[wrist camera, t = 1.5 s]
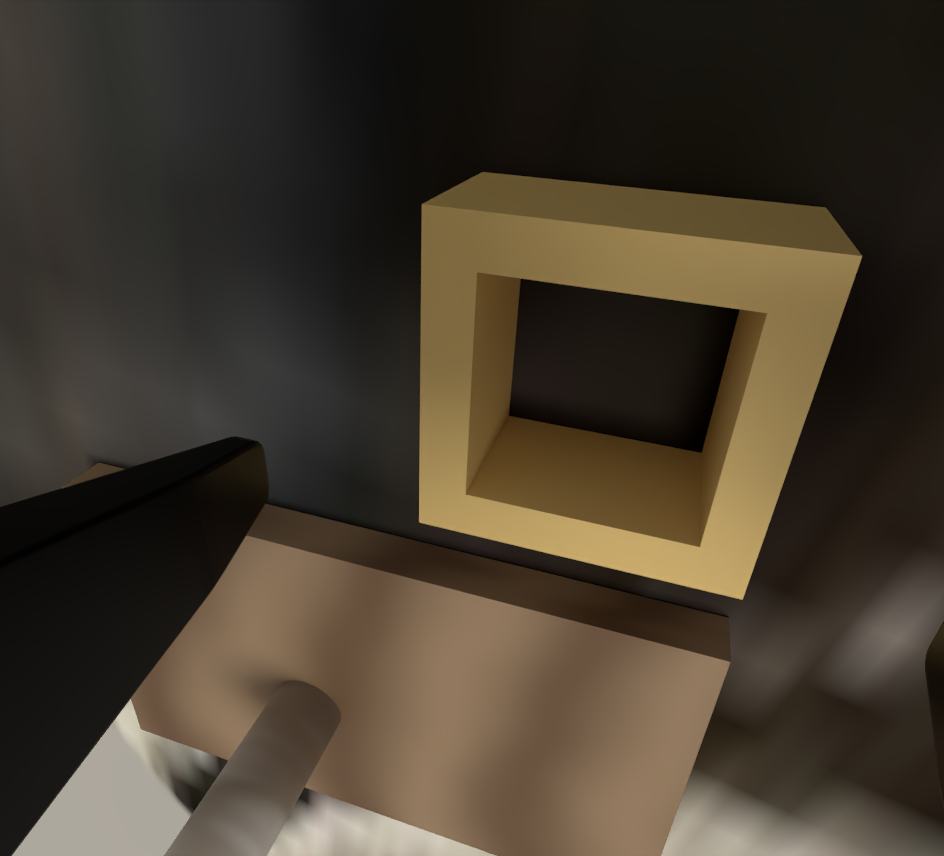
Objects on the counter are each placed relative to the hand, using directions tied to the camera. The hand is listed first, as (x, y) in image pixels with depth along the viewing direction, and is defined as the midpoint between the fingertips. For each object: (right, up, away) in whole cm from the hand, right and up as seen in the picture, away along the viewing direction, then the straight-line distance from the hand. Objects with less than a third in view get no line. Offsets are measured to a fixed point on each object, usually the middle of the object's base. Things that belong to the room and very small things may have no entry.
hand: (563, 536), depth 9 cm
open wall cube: (+2, +3, +6) cm, 7 cm away
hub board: (-4, -7, +14) cm, 16 cm away
